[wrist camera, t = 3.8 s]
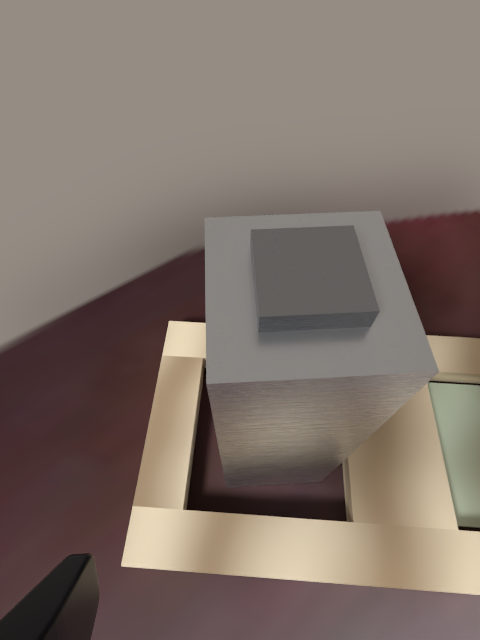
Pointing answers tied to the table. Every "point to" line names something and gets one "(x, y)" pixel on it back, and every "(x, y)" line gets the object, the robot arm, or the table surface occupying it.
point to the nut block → (305, 341)
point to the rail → (359, 486)
